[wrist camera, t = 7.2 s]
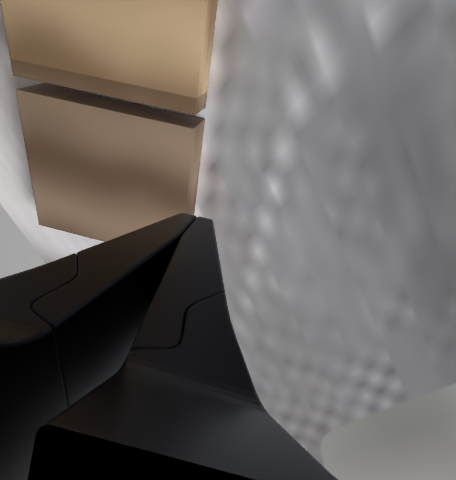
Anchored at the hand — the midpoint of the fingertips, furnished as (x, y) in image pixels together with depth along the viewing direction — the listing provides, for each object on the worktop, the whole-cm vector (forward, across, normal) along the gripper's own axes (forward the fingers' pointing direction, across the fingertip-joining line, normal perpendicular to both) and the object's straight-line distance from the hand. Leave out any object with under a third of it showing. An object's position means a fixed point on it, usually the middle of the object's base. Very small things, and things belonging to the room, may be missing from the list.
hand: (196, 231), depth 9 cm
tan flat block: (+12, +8, +5) cm, 15 cm away
